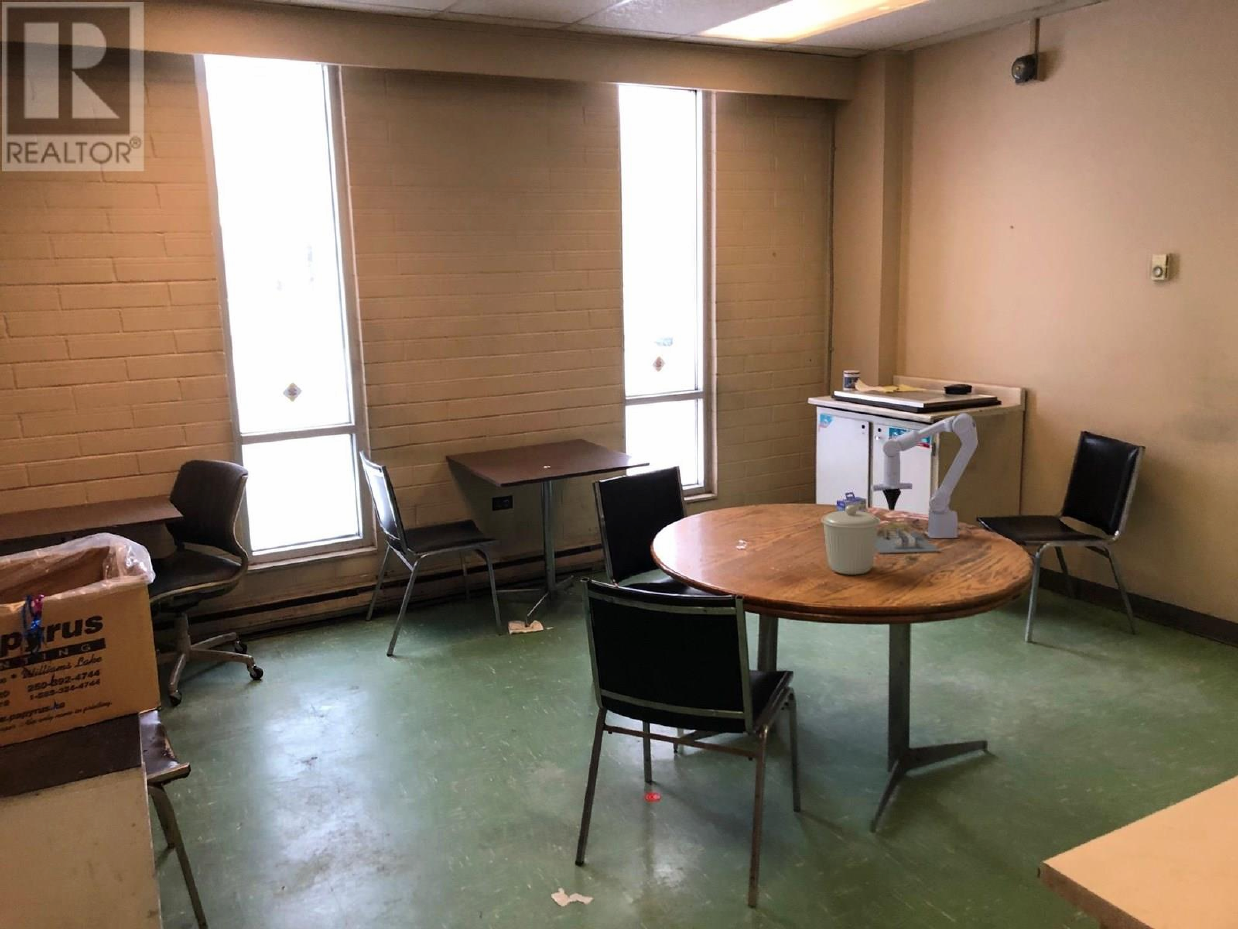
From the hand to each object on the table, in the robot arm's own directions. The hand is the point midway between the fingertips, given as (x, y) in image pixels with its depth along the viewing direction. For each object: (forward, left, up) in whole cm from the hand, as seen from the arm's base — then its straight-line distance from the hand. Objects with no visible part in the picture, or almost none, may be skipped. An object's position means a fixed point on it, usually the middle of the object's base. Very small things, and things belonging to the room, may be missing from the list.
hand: (891, 509), depth 349 cm
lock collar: (+1, +10, -8) cm, 13 cm away
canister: (+24, +44, -9) cm, 51 cm away
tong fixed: (-1, +15, -8) cm, 17 cm away
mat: (+1, +14, -8) cm, 17 cm away
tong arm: (+3, +15, -8) cm, 17 cm away
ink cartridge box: (+14, -2, -9) cm, 16 cm away
